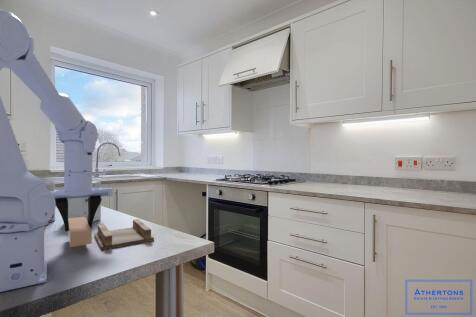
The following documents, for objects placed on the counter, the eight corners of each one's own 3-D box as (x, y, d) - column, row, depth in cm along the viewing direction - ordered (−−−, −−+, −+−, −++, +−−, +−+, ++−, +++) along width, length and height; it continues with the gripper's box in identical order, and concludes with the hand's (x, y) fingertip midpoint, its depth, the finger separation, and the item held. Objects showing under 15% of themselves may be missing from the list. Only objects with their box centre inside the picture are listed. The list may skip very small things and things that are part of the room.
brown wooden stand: (153, 240, 67) (154, 228, 67) (101, 250, 60) (101, 237, 60) (140, 228, 77) (141, 218, 77) (94, 236, 70) (94, 224, 70)
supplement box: (83, 225, 80) (83, 183, 80) (63, 223, 82) (63, 182, 81) (101, 219, 87) (101, 181, 87) (83, 217, 89) (83, 180, 89)
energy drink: (30, 224, 80) (30, 184, 80) (38, 219, 85) (38, 182, 85) (51, 223, 82) (51, 184, 81) (57, 218, 87) (57, 182, 87)
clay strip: (91, 243, 58) (91, 230, 58) (70, 247, 56) (70, 232, 56) (85, 228, 70) (85, 216, 70) (67, 230, 68) (67, 218, 68)
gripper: (109, 169, 70) (109, 220, 70) (40, 171, 62) (41, 229, 62) (114, 171, 64) (114, 227, 65) (39, 173, 56) (39, 237, 56)
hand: (78, 228), depth 63 cm, fingers closed on clay strip, 4 cm apart
